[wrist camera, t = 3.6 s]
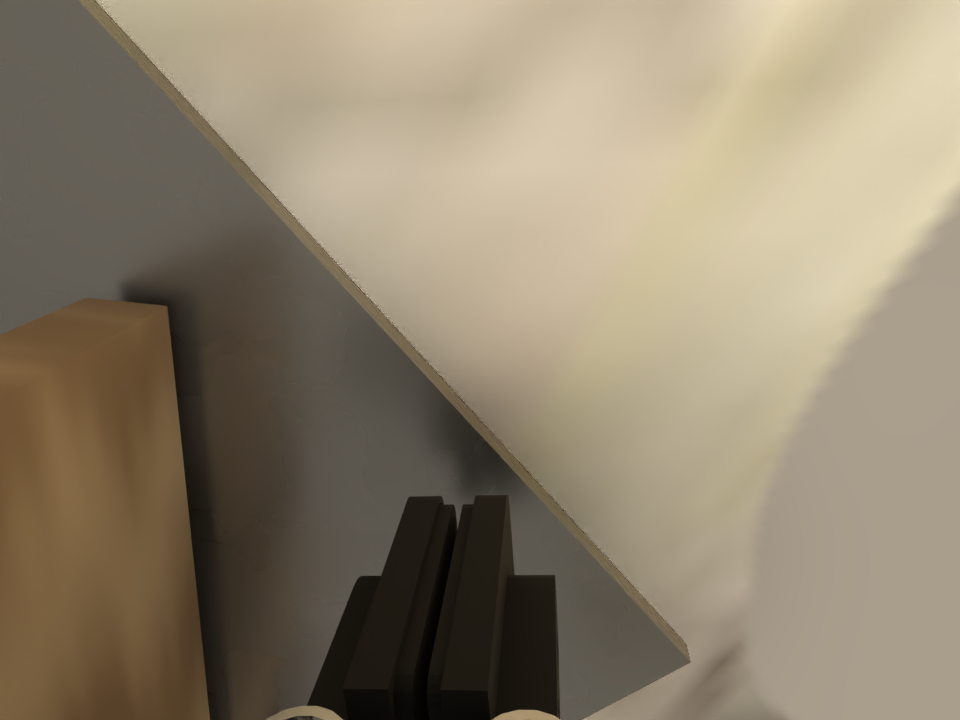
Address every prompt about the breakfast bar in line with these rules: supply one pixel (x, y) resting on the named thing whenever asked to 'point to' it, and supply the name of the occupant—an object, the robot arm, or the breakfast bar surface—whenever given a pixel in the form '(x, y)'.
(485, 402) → the breakfast bar surface
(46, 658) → the gate
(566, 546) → the gate frame
